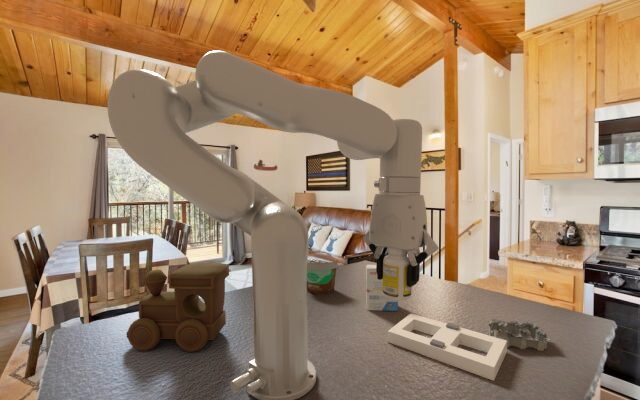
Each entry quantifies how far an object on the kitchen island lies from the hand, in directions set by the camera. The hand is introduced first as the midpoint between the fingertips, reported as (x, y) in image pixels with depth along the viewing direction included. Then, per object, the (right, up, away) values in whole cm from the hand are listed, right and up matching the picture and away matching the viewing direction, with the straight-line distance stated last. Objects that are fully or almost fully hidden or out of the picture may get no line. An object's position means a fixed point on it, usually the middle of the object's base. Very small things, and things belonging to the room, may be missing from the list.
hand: (396, 280), depth 60 cm
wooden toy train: (-46, -16, +11) cm, 50 cm away
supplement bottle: (0, -3, 0) cm, 3 cm away
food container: (-15, -14, +41) cm, 46 cm away
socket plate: (+12, -16, +7) cm, 21 cm away
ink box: (+3, -15, +28) cm, 32 cm away
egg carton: (+29, -16, +10) cm, 35 cm away
